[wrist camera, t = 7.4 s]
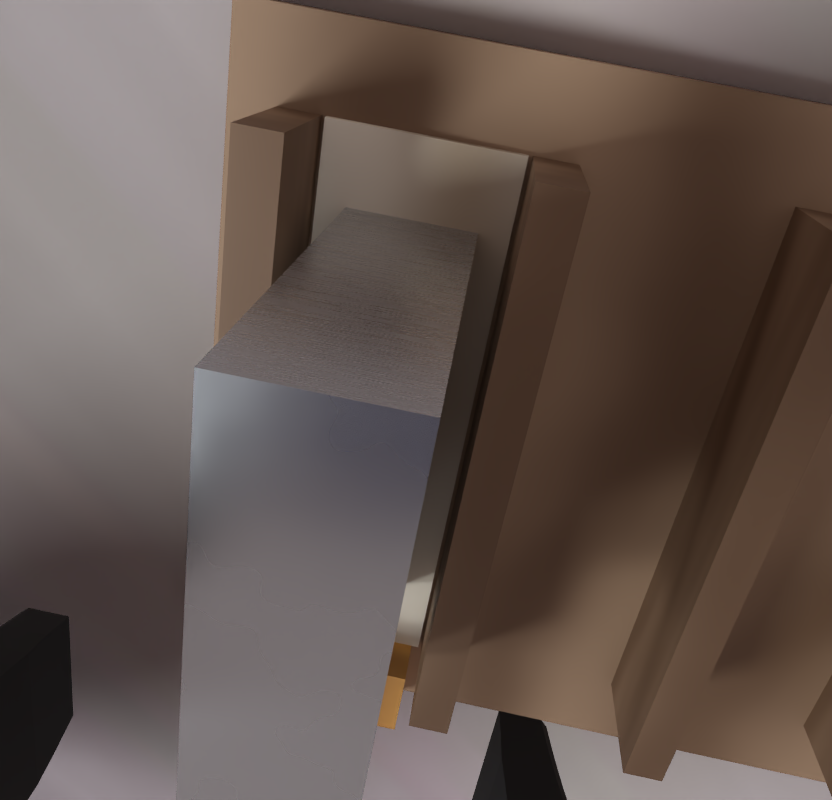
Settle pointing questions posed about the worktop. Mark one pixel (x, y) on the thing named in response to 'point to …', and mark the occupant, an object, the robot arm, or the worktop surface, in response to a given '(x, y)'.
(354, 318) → the grey brushed metal block
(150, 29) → the worktop surface
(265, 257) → the slot rack
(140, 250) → the worktop surface
